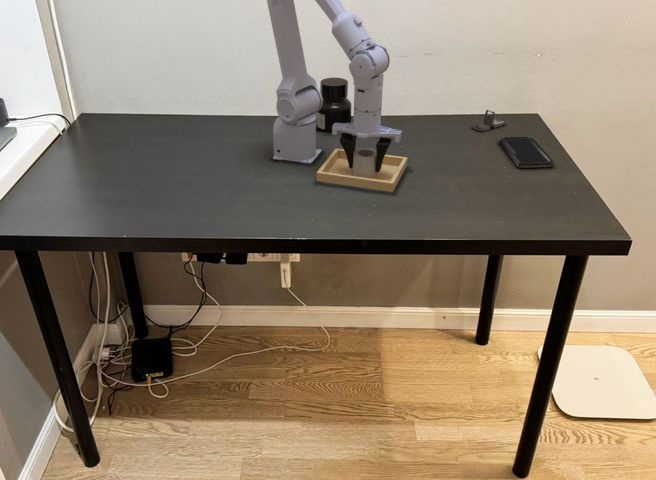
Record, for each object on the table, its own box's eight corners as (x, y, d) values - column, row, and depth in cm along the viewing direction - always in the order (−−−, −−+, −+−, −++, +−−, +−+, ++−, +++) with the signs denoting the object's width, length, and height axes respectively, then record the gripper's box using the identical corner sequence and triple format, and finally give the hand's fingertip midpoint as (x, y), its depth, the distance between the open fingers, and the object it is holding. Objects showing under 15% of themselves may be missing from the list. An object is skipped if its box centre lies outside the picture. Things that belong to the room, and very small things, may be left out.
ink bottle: (319, 120, 170) (319, 75, 163) (353, 122, 168) (354, 76, 162) (313, 134, 162) (312, 87, 155) (348, 136, 160) (349, 88, 154)
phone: (531, 136, 155) (554, 162, 143) (530, 141, 156) (553, 167, 143) (498, 137, 155) (518, 163, 143) (498, 142, 156) (518, 168, 143)
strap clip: (495, 121, 167) (498, 105, 165) (504, 125, 165) (507, 108, 163) (471, 128, 163) (473, 112, 161) (480, 132, 161) (482, 115, 159)
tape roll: (349, 176, 140) (350, 155, 137) (356, 166, 144) (357, 146, 142) (373, 180, 138) (374, 159, 136) (379, 170, 143) (381, 149, 140)
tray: (316, 183, 139) (316, 172, 138) (335, 158, 150) (335, 148, 148) (392, 194, 134) (393, 183, 133) (406, 168, 145) (407, 157, 143)
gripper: (328, 110, 132) (327, 171, 140) (397, 118, 128) (393, 180, 135) (338, 99, 138) (337, 158, 145) (405, 106, 133) (400, 167, 141)
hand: (364, 168), depth 141 cm, fingers closed on tape roll, 5 cm apart
